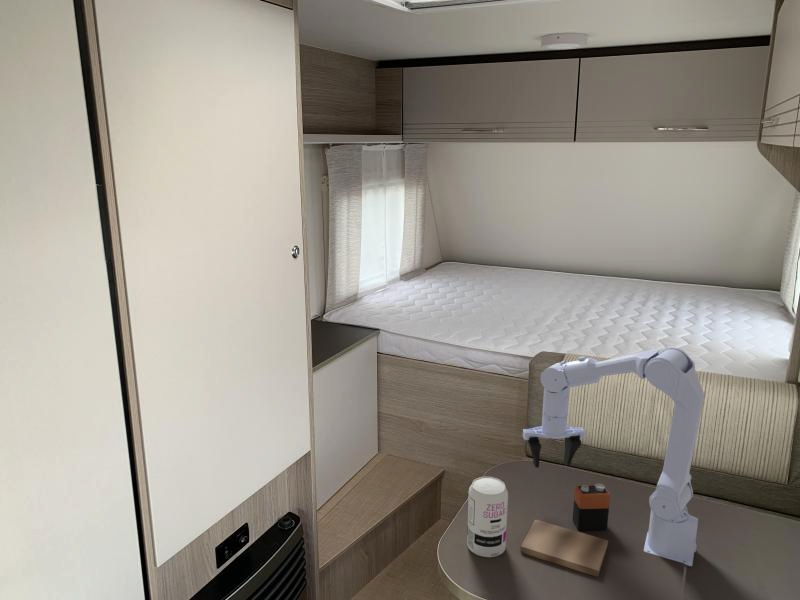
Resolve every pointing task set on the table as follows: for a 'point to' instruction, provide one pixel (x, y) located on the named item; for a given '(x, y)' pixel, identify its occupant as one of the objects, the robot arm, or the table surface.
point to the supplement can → (487, 517)
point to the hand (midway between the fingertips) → (551, 465)
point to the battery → (591, 507)
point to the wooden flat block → (565, 547)
